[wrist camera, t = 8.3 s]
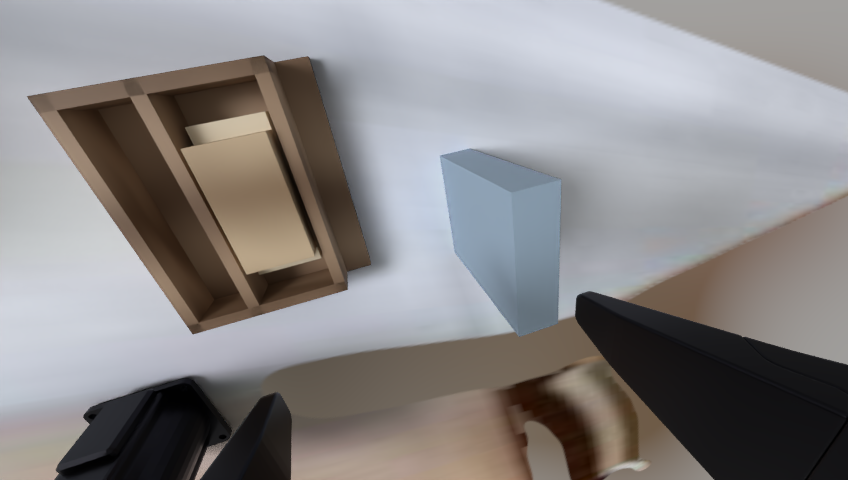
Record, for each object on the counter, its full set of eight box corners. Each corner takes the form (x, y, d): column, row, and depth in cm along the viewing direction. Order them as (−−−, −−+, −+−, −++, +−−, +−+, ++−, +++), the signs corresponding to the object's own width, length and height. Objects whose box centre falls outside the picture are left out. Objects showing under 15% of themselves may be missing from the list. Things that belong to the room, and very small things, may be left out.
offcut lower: (322, 248, 19) (321, 258, 17) (264, 264, 18) (259, 274, 17) (270, 111, 15) (264, 111, 14) (197, 125, 15) (184, 127, 13)
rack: (370, 260, 20) (374, 281, 18) (199, 308, 19) (177, 338, 16) (309, 58, 15) (302, 48, 13) (64, 101, 14) (2, 100, 11)
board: (480, 245, 22) (557, 323, 14) (454, 252, 22) (519, 336, 14) (469, 148, 19) (561, 179, 11) (440, 155, 19) (511, 192, 11)
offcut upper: (316, 246, 17) (314, 256, 16) (253, 263, 17) (246, 274, 16) (271, 129, 14) (265, 131, 13) (193, 145, 14) (180, 149, 13)
